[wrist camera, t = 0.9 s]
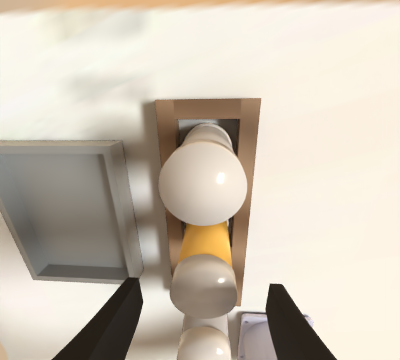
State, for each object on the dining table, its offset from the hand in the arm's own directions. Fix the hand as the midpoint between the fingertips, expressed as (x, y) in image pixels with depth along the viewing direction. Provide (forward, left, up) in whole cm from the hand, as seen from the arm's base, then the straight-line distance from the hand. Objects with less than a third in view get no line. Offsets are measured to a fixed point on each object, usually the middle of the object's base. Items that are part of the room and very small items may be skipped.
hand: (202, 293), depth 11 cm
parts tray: (0, +12, -8) cm, 15 cm away
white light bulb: (+6, 0, -8) cm, 10 cm away
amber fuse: (0, 0, -8) cm, 8 cm away
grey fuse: (-7, 0, -8) cm, 10 cm away
